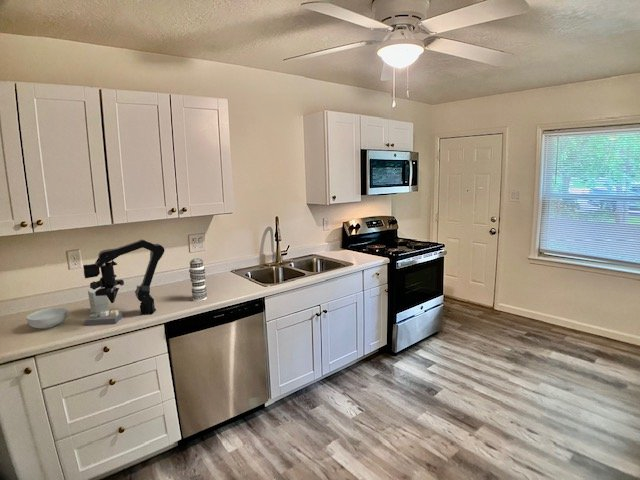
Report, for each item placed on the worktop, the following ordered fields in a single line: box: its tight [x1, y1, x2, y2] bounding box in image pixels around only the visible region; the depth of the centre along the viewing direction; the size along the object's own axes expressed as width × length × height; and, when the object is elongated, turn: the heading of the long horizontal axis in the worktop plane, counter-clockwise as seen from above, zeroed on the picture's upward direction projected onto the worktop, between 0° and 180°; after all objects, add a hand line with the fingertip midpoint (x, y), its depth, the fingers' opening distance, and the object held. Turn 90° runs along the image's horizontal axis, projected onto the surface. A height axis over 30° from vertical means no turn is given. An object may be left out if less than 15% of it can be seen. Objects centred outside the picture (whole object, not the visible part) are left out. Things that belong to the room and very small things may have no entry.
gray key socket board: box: [84, 310, 125, 327], centre depth 190 cm, size 15×10×3 cm, turn 96°
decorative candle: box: [188, 257, 208, 302], centre depth 217 cm, size 9×9×25 cm
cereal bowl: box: [26, 306, 69, 330], centre depth 185 cm, size 17×17×7 cm
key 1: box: [89, 313, 99, 318], centre depth 189 cm, size 3×3×3 cm
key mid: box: [100, 310, 110, 317], centre depth 189 cm, size 3×3×3 cm
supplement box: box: [87, 287, 111, 314], centre depth 203 cm, size 7×7×13 cm
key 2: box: [109, 309, 119, 316], centre depth 190 cm, size 3×3×3 cm
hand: (112, 302), depth 189 cm, fingers closed
